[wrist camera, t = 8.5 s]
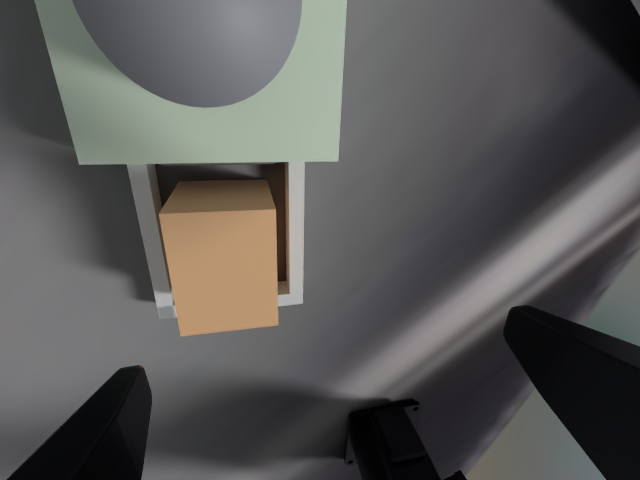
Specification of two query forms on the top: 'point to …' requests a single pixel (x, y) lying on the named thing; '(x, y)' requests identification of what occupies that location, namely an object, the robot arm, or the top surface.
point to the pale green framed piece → (200, 97)
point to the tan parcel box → (221, 255)
